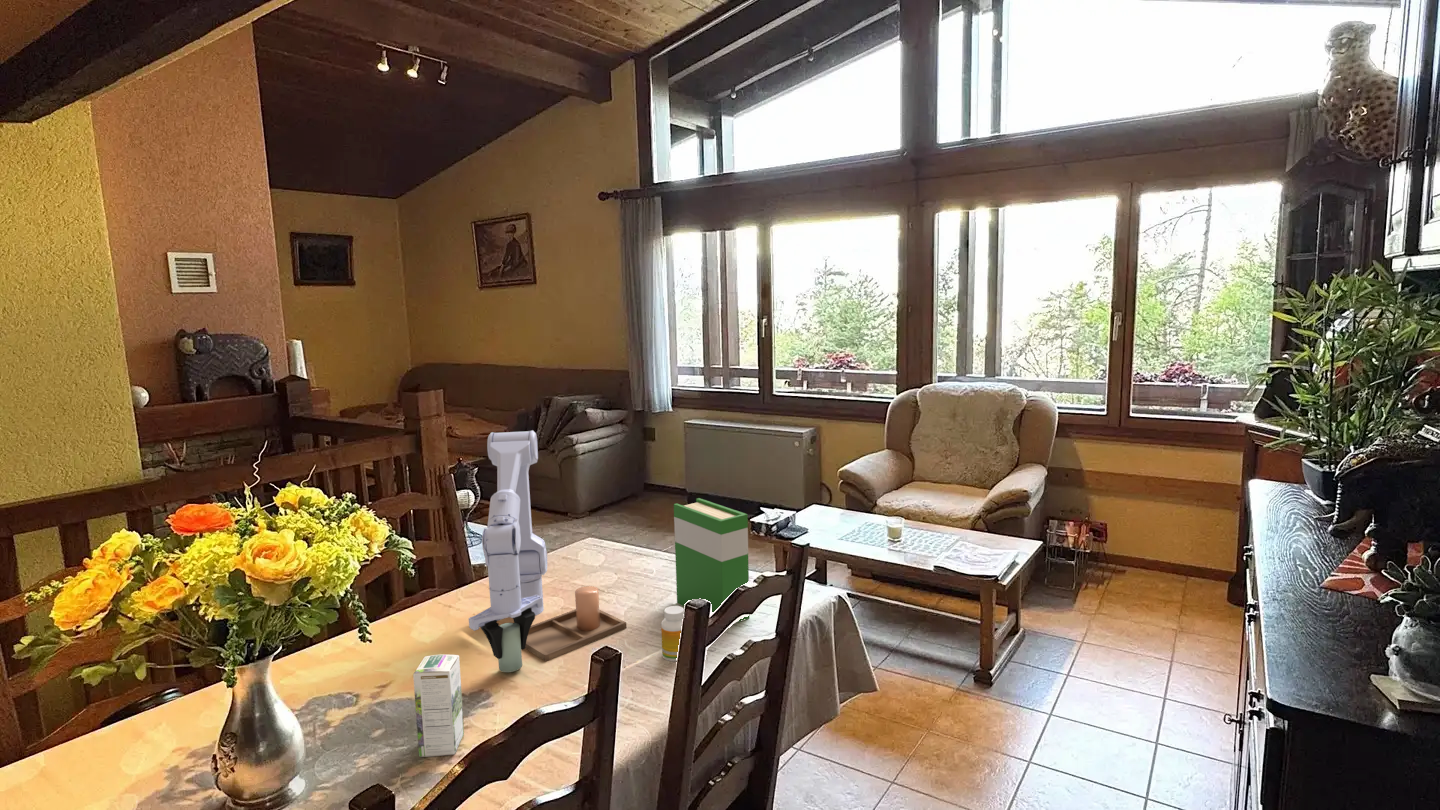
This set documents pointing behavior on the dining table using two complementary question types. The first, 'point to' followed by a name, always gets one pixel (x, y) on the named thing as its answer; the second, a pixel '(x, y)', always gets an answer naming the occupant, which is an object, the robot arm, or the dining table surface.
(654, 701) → the dining table surface
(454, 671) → the syrup box
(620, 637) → the dining table surface
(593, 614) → the peach cylinder pillar
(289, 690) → the dining table surface
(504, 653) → the sage tube
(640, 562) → the dining table surface
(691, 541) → the hardback book
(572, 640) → the walnut tray
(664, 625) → the supplement bottle
